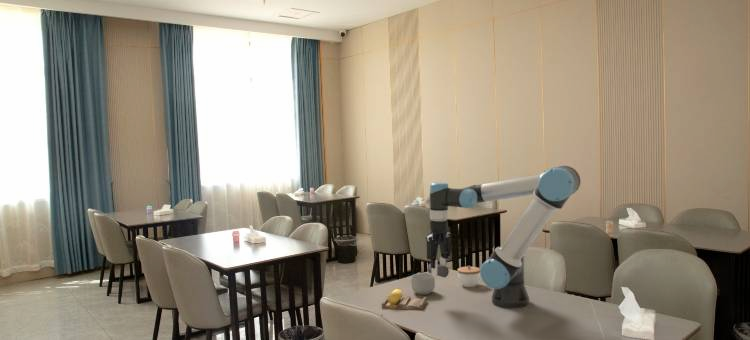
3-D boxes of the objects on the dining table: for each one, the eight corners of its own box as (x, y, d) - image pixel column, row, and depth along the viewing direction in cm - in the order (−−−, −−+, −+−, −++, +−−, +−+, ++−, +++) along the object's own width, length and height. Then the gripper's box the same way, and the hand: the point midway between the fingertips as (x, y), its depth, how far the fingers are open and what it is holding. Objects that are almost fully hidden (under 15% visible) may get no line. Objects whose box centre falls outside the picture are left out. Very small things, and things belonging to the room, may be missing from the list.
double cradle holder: (426, 301, 227) (426, 296, 227) (422, 309, 216) (421, 304, 216) (388, 300, 231) (387, 295, 231) (381, 308, 221) (381, 303, 221)
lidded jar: (453, 285, 249) (452, 266, 249) (467, 281, 256) (466, 262, 256) (471, 290, 241) (471, 269, 241) (485, 284, 248) (485, 265, 248)
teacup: (436, 296, 234) (435, 278, 234) (411, 296, 235) (411, 279, 234) (433, 287, 248) (432, 270, 248) (410, 288, 249) (409, 271, 248)
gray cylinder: (448, 276, 221) (448, 266, 221) (441, 278, 218) (441, 268, 218) (434, 272, 227) (434, 262, 227) (427, 273, 225) (427, 263, 224)
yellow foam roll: (399, 303, 221) (396, 293, 221) (389, 305, 222) (386, 295, 222) (403, 298, 228) (401, 288, 228) (394, 299, 230) (391, 289, 230)
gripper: (446, 216, 229) (446, 268, 231) (417, 220, 218) (417, 276, 220) (459, 218, 223) (459, 272, 225) (430, 223, 212) (430, 280, 214)
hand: (438, 274), depth 223 cm, fingers closed on gray cylinder, 4 cm apart
